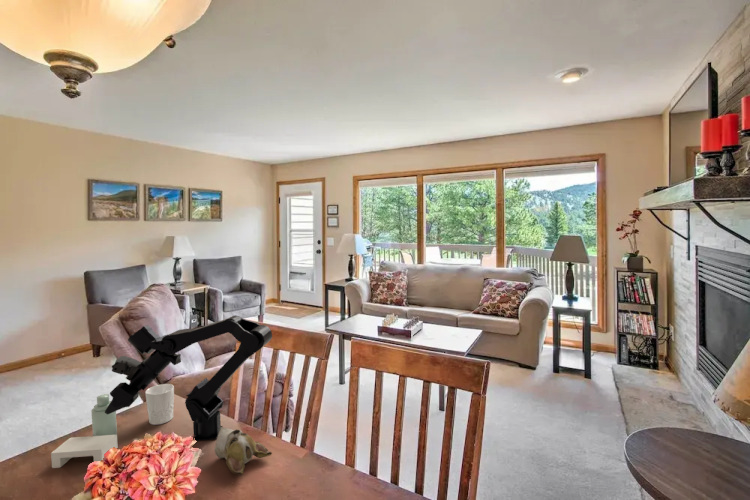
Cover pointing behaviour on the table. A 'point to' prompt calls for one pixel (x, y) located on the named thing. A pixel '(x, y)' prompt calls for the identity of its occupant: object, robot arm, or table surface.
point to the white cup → (160, 403)
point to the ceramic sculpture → (238, 449)
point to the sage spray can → (103, 418)
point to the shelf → (83, 448)
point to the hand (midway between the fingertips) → (114, 405)
